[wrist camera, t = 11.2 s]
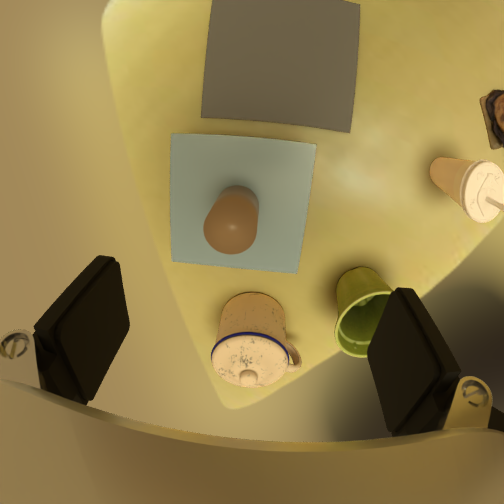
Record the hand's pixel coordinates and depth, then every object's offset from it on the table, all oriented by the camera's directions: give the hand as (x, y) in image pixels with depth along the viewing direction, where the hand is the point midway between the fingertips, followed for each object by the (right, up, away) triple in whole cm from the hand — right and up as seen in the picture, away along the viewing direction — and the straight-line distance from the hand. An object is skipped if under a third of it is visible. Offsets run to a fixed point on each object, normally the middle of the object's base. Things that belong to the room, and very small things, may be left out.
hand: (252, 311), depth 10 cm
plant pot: (+14, -2, +28) cm, 32 cm away
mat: (+3, +23, +16) cm, 28 cm away
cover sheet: (-1, +6, +18) cm, 19 cm away
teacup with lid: (+1, -8, +31) cm, 32 cm away
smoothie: (+23, +12, +21) cm, 33 cm away
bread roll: (+35, +21, +16) cm, 44 cm away
